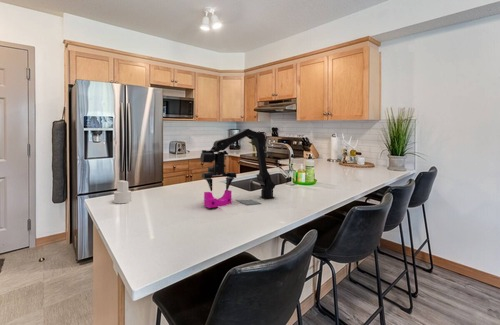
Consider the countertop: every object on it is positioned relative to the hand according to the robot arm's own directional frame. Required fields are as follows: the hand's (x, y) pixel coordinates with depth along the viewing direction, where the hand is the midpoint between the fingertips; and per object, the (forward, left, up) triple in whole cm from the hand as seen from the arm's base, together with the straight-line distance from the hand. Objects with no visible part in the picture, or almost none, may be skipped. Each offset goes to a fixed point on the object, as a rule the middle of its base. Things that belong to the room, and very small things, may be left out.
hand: (219, 190), depth 148 cm
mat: (-16, +2, -7) cm, 18 cm away
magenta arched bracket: (+1, +3, -8) cm, 9 cm away
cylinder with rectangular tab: (+47, -30, -8) cm, 56 cm away
